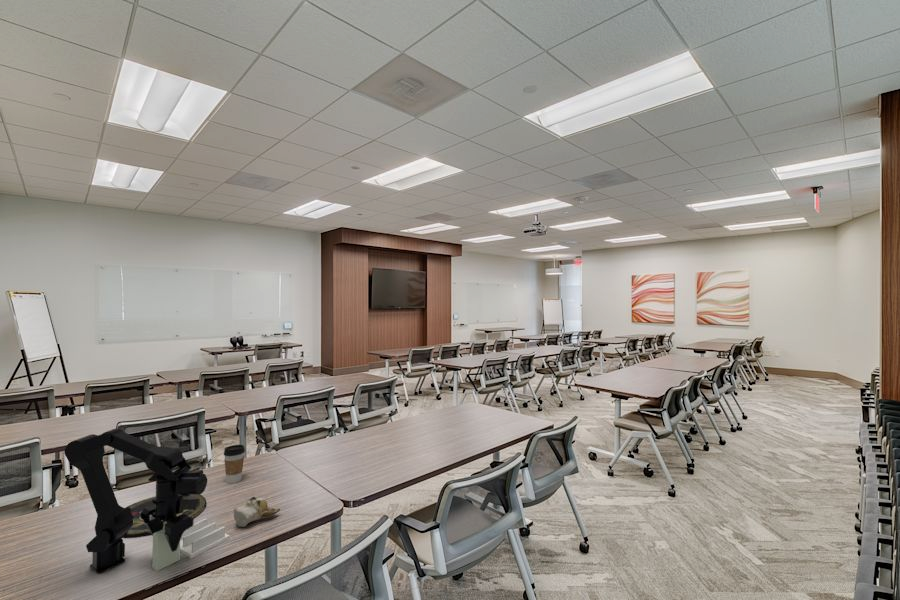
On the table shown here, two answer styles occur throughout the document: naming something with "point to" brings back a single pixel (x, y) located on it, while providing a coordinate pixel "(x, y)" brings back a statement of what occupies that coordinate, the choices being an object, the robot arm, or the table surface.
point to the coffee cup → (234, 463)
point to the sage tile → (163, 551)
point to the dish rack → (201, 538)
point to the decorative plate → (142, 530)
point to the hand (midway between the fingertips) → (166, 546)
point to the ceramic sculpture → (253, 511)
